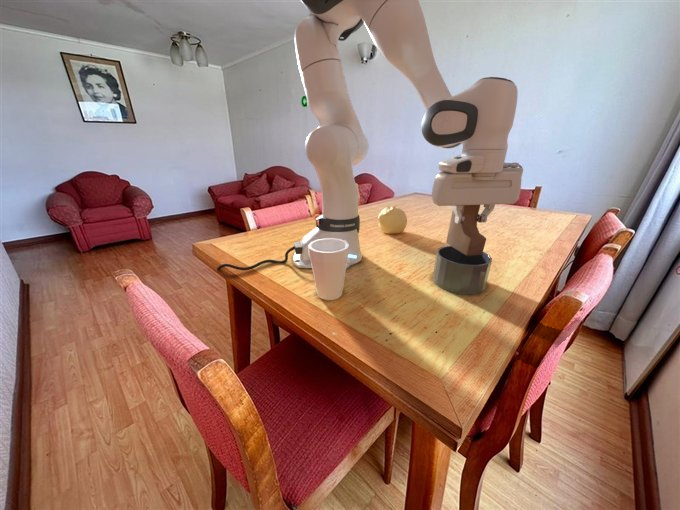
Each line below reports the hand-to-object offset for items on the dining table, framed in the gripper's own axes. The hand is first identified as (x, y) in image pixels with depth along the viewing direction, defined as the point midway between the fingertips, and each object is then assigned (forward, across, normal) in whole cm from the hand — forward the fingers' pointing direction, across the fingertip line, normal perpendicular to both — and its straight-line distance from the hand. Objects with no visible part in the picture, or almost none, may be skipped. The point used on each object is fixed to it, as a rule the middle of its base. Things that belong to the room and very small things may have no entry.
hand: (469, 222), depth 65 cm
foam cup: (+17, +35, +2) cm, 39 cm away
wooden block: (+7, 0, 0) cm, 7 cm away
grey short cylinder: (+17, 0, -2) cm, 17 cm away
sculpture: (+17, +6, -44) cm, 48 cm away
